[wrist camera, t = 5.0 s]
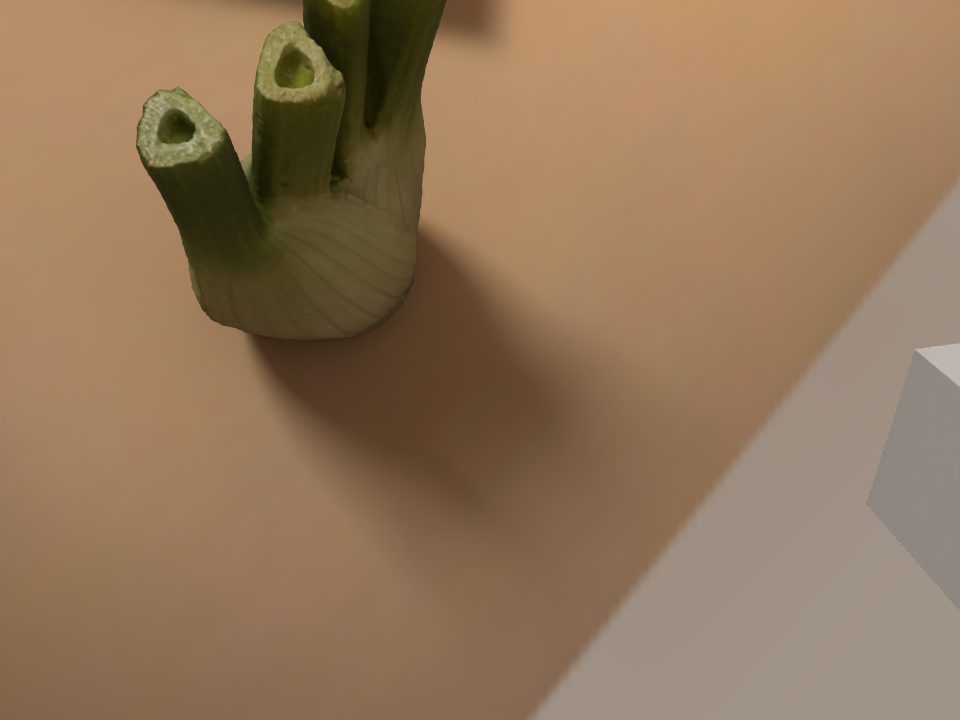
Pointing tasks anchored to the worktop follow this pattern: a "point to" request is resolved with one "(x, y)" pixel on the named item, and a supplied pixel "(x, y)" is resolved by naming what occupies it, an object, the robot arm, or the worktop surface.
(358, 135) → the fennel bulb
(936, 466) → the robot arm
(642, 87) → the worktop surface
